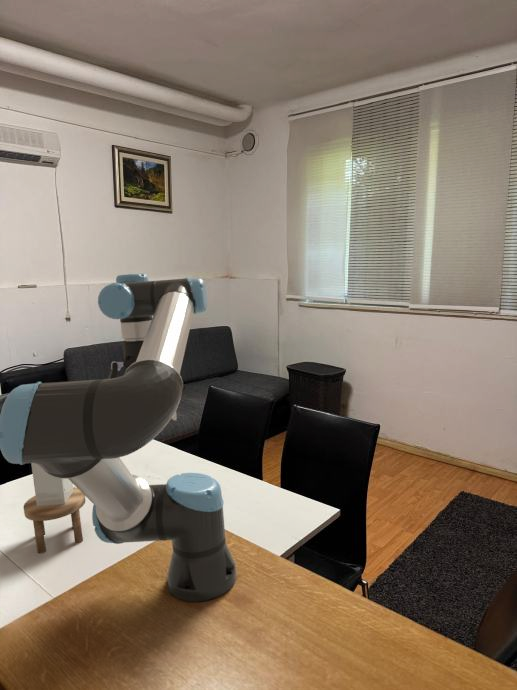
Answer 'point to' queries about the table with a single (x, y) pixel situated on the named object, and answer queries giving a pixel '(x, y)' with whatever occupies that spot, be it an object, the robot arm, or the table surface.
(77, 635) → the table surface
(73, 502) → the stool
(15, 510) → the table surface
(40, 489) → the supplement box
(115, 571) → the table surface
